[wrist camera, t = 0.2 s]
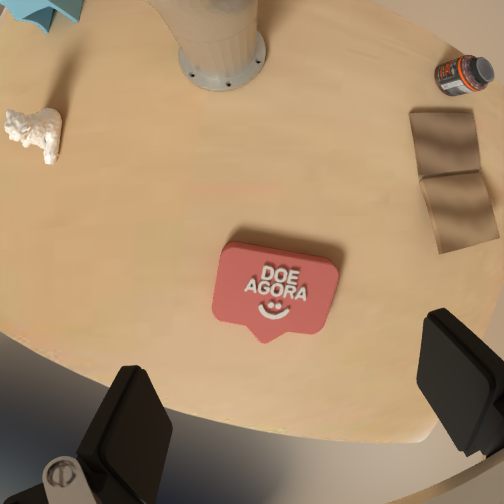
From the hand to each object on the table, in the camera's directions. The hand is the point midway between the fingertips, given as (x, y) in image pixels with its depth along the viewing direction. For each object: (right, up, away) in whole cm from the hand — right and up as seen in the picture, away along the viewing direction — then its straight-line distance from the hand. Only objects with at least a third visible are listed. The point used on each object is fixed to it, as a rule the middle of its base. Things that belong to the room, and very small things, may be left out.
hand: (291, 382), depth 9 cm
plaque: (+2, -2, +40) cm, 40 cm away
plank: (+34, +11, +33) cm, 48 cm away
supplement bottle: (+32, +34, +29) cm, 55 cm away
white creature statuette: (-35, +24, +31) cm, 53 cm away
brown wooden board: (+31, +23, +32) cm, 50 cm away
